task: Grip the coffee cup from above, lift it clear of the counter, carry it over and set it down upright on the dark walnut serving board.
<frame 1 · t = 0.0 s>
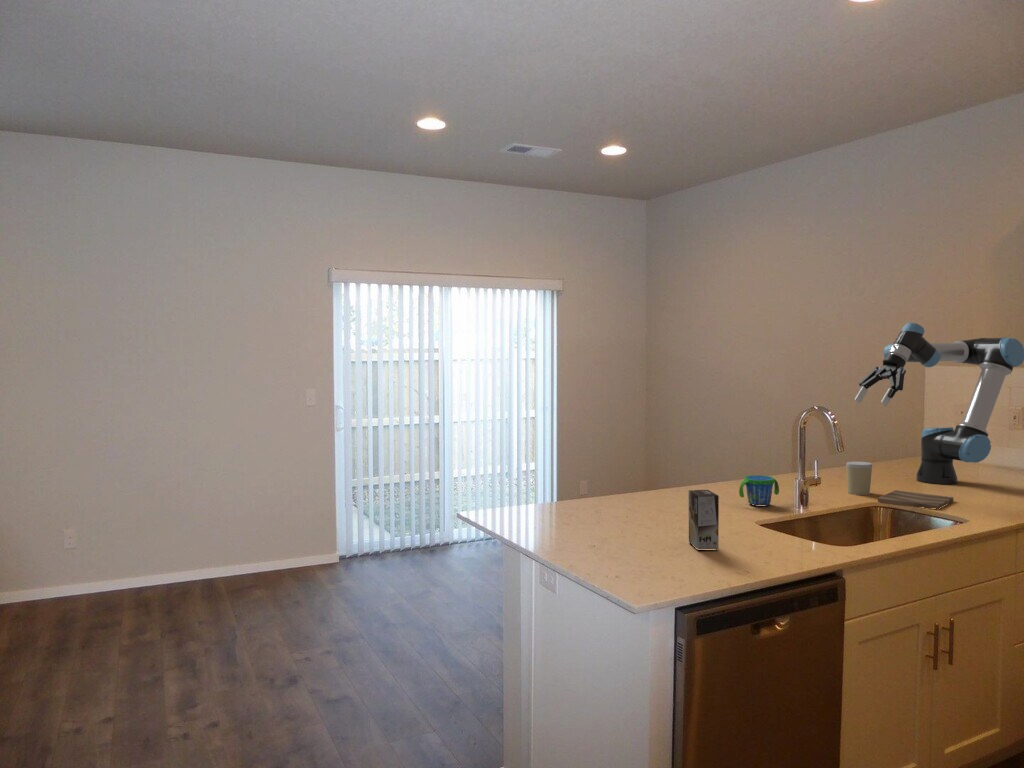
hand: (869, 403, 283), 36 cm above the worktop, tool tilted 35°, fingers open, 13 cm apart
coffee box: (703, 547, 213), on the worktop
snack cup: (759, 505, 268), on the worktop
coffee cup: (858, 493, 288), on the worktop
walnut board: (915, 501, 271), on the worktop
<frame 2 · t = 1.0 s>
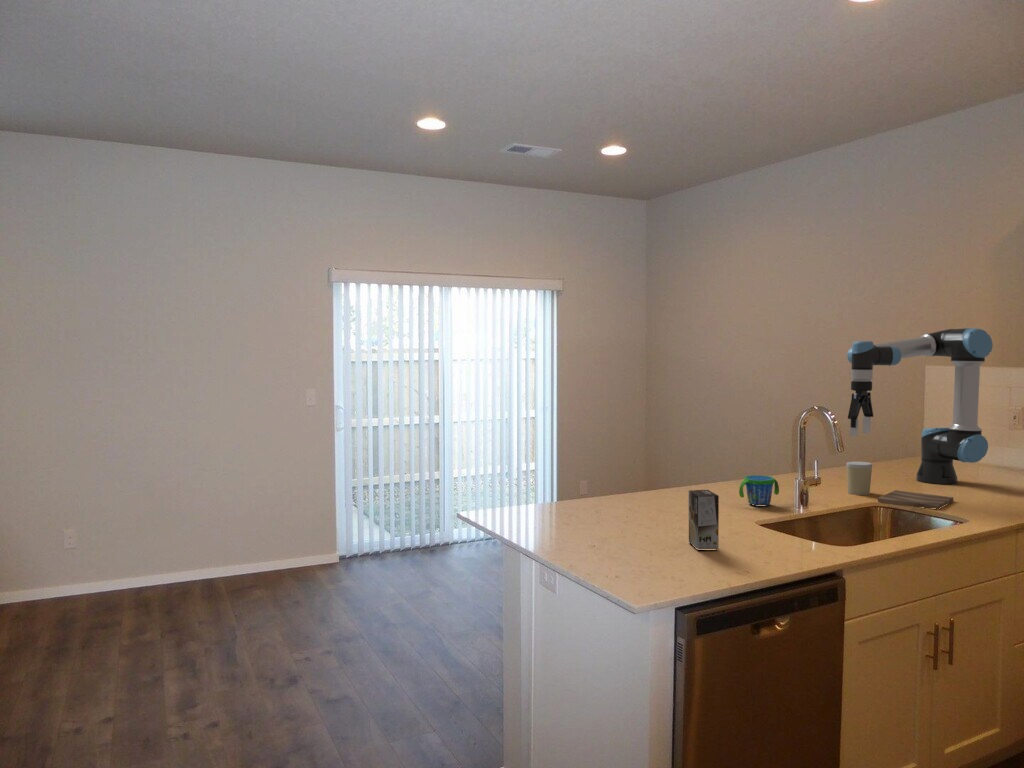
hand: (860, 434, 286), 23 cm above the worktop, tool pointing down, fingers open, 13 cm apart
nothing on the worktop moved.
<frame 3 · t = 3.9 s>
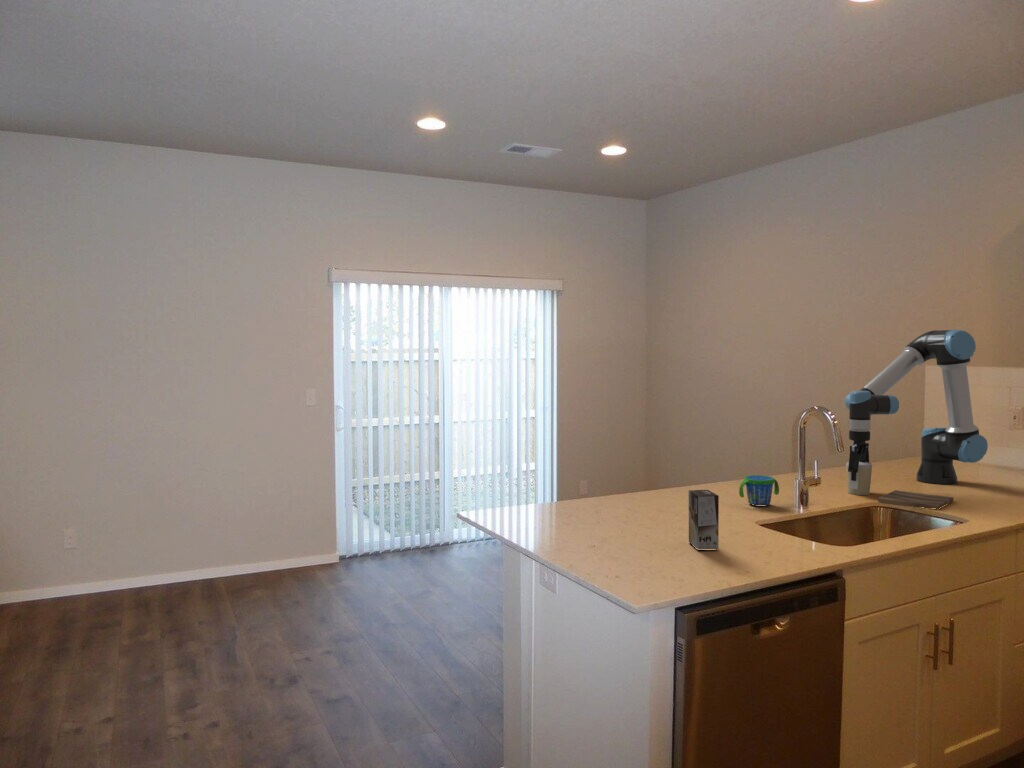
hand: (858, 487, 288), 2 cm above the worktop, tool pointing down, fingers closed on coffee cup, 9 cm apart
coffee cup: (858, 493, 288), on the worktop, touching gripper
everything else where it was.
when the fingers open (4 cm above the worktop, at t = 11.5 s): coffee cup stays where it is, resting on walnut board.
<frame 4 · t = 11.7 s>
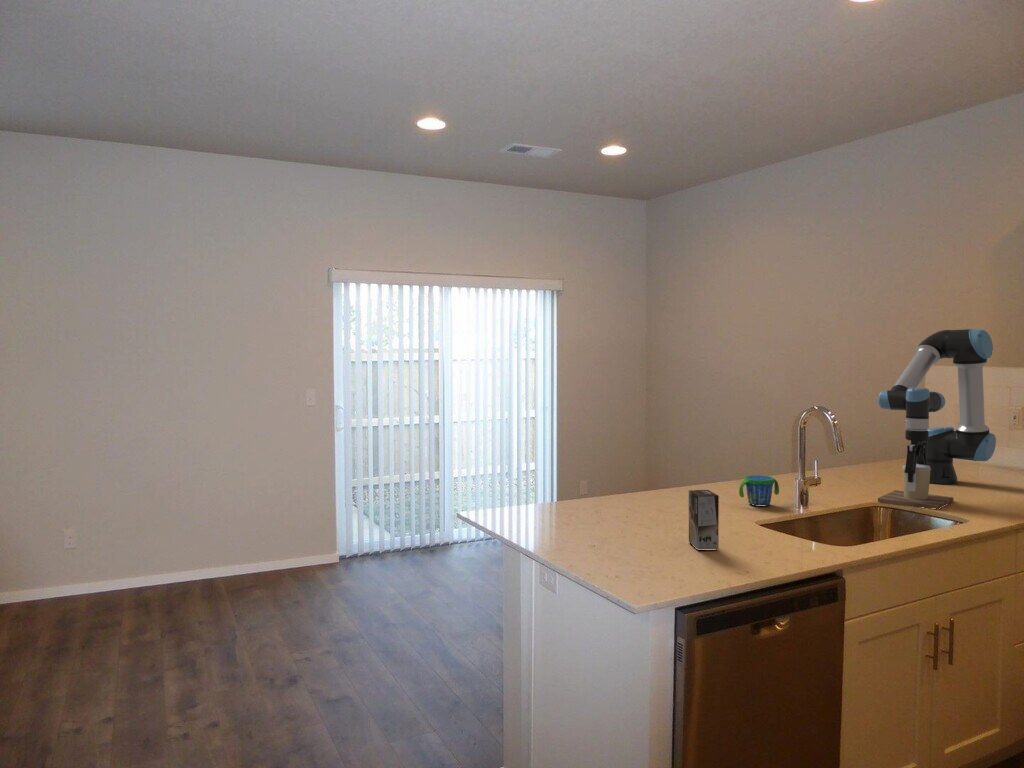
hand: (915, 488, 271), 5 cm above the worktop, tool pointing down, fingers open, 11 cm apart
coffee cup: (915, 498, 272), point 1 cm above the worktop, touching walnut board
everything else where it was.
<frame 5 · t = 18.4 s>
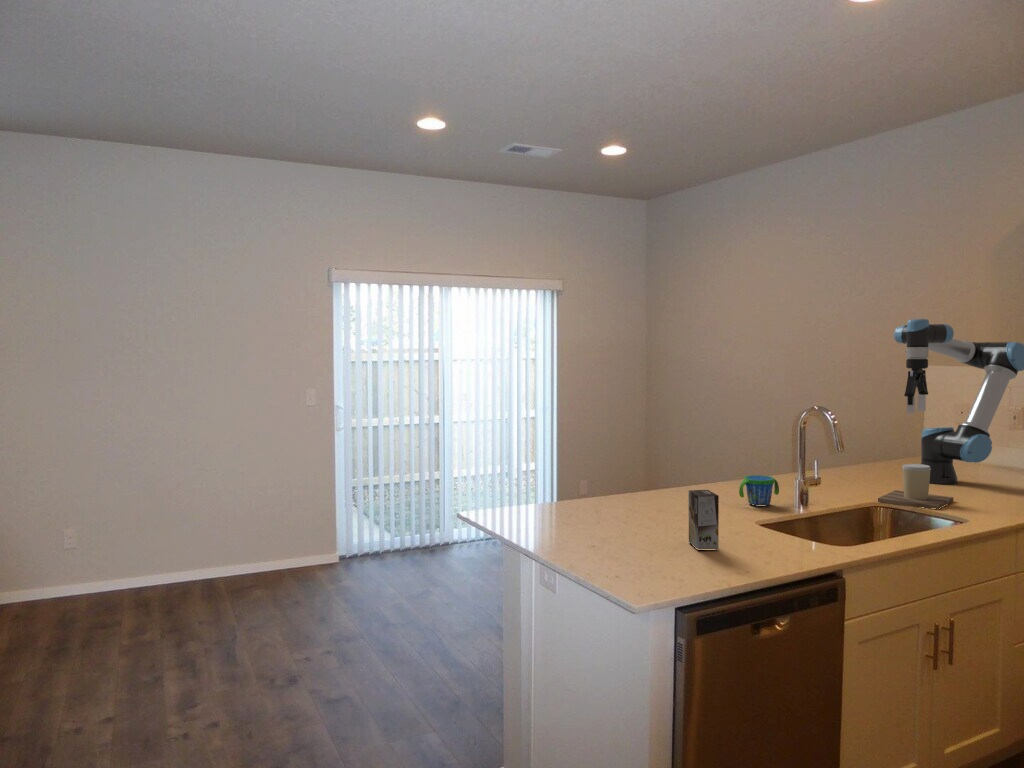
hand: (916, 412, 288), 32 cm above the worktop, tool pointing down, fingers open, 13 cm apart
nothing on the worktop moved.
at the end: coffee cup inside the target area on the walnut board (0.2 cm from its centre), point 1.3 cm above the walnut board's base; coffee cup tilted 0°; the gripper is holding nothing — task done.
